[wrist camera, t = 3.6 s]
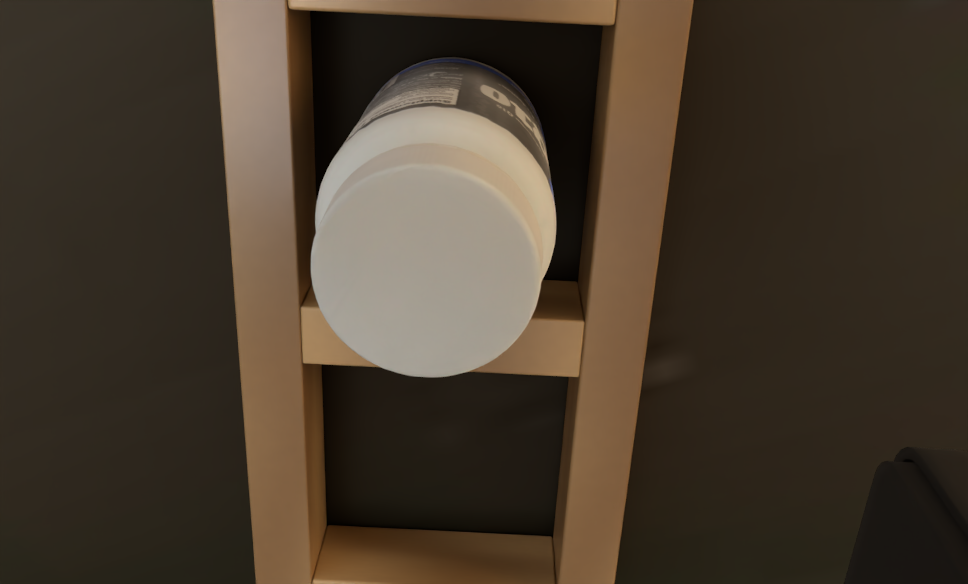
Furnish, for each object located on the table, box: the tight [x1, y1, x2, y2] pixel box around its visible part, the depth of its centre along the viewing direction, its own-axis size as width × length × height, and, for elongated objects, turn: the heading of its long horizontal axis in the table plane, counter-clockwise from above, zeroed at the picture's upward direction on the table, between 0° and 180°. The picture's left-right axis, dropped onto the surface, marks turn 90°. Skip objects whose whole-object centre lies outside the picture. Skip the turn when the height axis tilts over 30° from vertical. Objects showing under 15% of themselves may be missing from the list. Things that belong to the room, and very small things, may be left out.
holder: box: [212, 0, 694, 584], centre depth 24 cm, size 10×19×2 cm, turn 177°
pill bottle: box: [311, 57, 556, 377], centre depth 19 cm, size 5×5×8 cm
